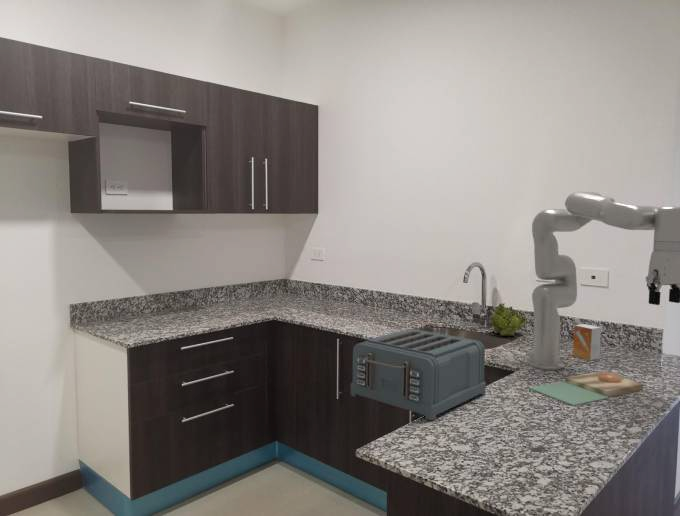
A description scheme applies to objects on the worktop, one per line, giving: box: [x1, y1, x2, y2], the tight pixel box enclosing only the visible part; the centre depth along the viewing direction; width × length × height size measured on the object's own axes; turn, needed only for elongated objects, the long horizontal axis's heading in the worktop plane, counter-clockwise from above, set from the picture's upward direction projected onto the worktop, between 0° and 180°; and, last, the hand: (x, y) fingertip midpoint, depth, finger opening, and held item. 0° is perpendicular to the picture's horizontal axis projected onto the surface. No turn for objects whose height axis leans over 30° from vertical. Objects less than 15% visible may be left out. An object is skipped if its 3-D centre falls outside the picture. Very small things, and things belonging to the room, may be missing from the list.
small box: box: [572, 323, 602, 361], centre depth 221 cm, size 8×6×13 cm
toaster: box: [350, 328, 487, 421], centre depth 172 cm, size 31×36×18 cm
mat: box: [528, 381, 610, 407], centre depth 176 cm, size 18×16×1 cm
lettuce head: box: [490, 302, 527, 337], centre depth 258 cm, size 18×16×16 cm
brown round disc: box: [598, 371, 622, 383], centre depth 185 cm, size 7×7×2 cm
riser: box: [564, 370, 644, 398], centre depth 184 cm, size 16×18×2 cm
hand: (664, 303), depth 166 cm, fingers open, 9 cm apart
